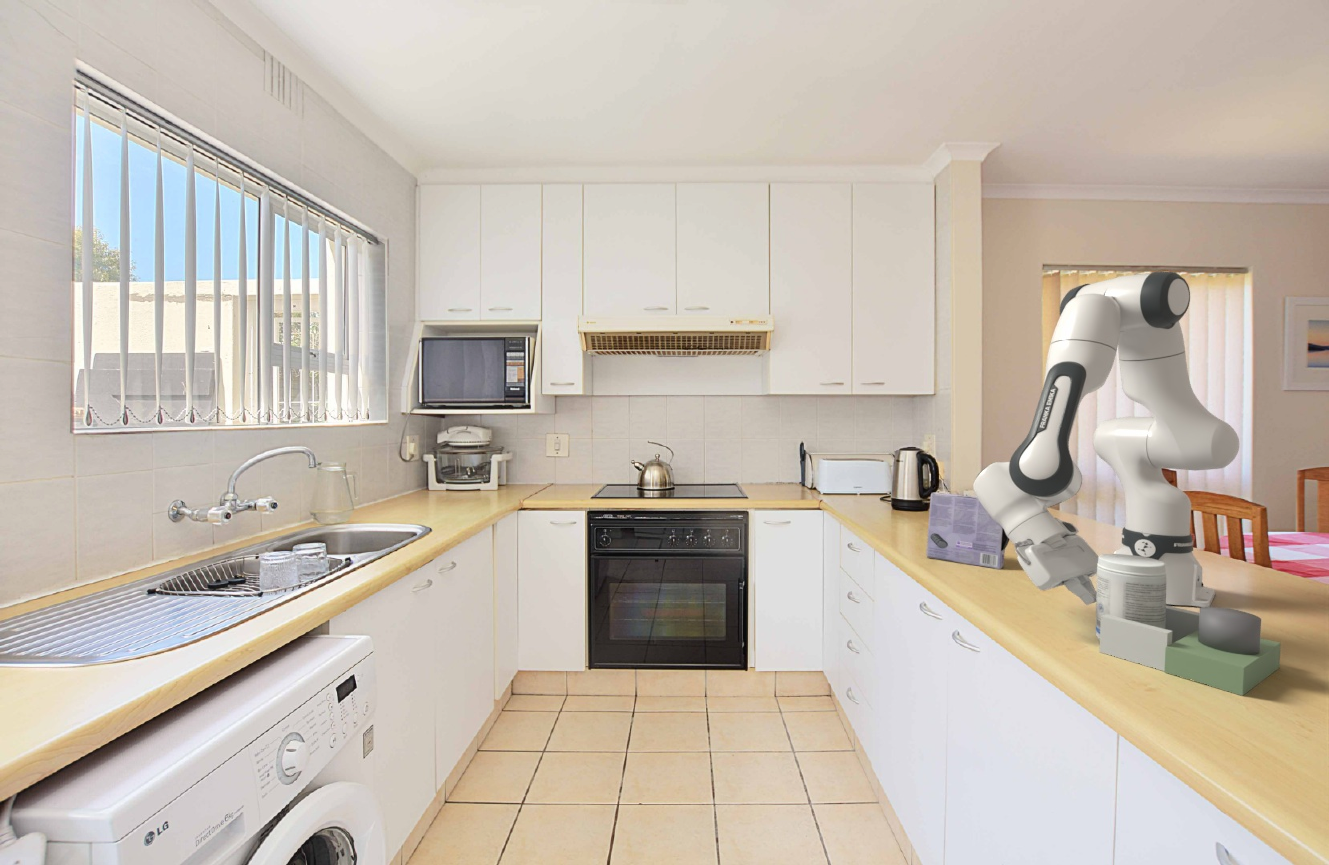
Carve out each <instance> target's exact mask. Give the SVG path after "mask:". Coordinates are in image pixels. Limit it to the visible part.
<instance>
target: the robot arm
mask: <svg viewBox="0 0 1329 865" xmlns="http://www.w3.org/2000/svg"><path fill="white" fill-rule="evenodd" d="M1190 302H1191V291H1190V287H1189V284H1188V282H1187V280H1186V279H1185V278H1184V277H1182V276H1181V275H1180V274H1179V273H1177V272H1173V271H1153V272H1151V273H1140V274H1139V273H1137V274H1128V275H1122V276H1121V275H1120V276H1117V277H1115V278H1109V279H1106V280H1101V281H1097V282H1094V283H1085V284H1082V285H1078V286H1076V287H1074V288H1072V289H1070V290H1069V291H1067V293H1066V294H1065V295H1064V297H1063V299H1062V300H1061V302H1060V305H1059V318H1058V320H1057V324H1056V326H1055V328H1054V331H1053V333H1052V337H1051V341H1050V344H1049V347H1048V352H1047V357H1046V361H1045V370H1044V371H1045V372H1044V380H1043V385H1042V386H1043V387H1042V390H1041V392H1040V393H1041V394H1040V397H1039V400H1038V403H1037V406H1036V410H1035V412H1034V415H1033V420H1032V422H1031V426H1030V429H1029V431H1028V433H1027V435H1026V437H1025V439H1024V440H1023V441H1022V442H1021V443H1020V444H1019V446H1018V447H1017V448H1016V450H1015V451H1014V452H1013V454H1012V456H1011V458H1010V460H1009V461H1004V462H1001V461H1000V462H999V461H995V462H992V463H991V464H988V465H987V466H985V467H984V468H983V469H982V470H981V471H980V472H979V473H978V474H977V476H976V477H975V479H974V481H973V486H972V487H973V488H972V489H973V491H974V494H975V497H977V498H978V500H979V501H980V503H981V504H982V506H983V507H984V508H985V510H986V511H987V512H988V514H989V515H990V516H991V517H992V519H993V520H995V521H996V522H997V523H999V524H1000V525H1001V526H1002V527H1003V529H1004V531H1005V533H1006V535H1007V537H1008V538H1009V541H1010V542H1011V543H1012V544H1013V546H1014V552H1015V553H1016V555H1017V561H1018V563H1019V565H1020V567H1021V568H1022V569H1023V571H1024V573H1025V574H1026V575H1027V577H1028V578H1029V579H1030V581H1031V582H1032V583H1033V585H1034V586H1035V587H1036V588H1038V589H1039V590H1040V591H1043V592H1044V591H1047V590H1052V589H1054V588H1057V587H1061V586H1065V588H1066V589H1067V590H1068V591H1069V592H1071V593H1072V594H1073V595H1075V596H1076V597H1078V598H1079V599H1080V600H1081V601H1082V602H1083V604H1085V605H1086V606H1088V605H1091V604H1094V603H1095V604H1096V594H1097V590H1096V588H1095V586H1094V584H1093V582H1092V580H1091V578H1092V577H1094V576H1095V575H1097V563H1098V557H1099V556H1100V555H1098V554H1097V553H1096V551H1095V550H1094V549H1093V547H1091V545H1090V544H1089V543H1088V542H1087V541H1086V539H1084V538H1083V537H1082V536H1080V535H1079V534H1078V533H1079V529H1078V528H1077V527H1076V526H1075V525H1074V524H1073V523H1071V522H1067V521H1064V520H1061V519H1059V518H1057V517H1054V515H1053V514H1052V513H1051V512H1050V511H1049V510H1048V509H1049V508H1052V507H1054V506H1056V505H1059V504H1061V503H1063V502H1066V501H1068V500H1070V499H1072V498H1073V497H1075V496H1076V495H1077V493H1079V491H1080V489H1081V487H1082V484H1083V475H1082V472H1081V470H1080V468H1079V466H1078V465H1077V464H1076V463H1075V461H1074V460H1073V458H1072V456H1071V452H1070V444H1069V443H1070V439H1071V434H1072V431H1073V428H1074V426H1075V420H1076V417H1077V414H1078V411H1079V407H1080V404H1081V402H1082V401H1083V399H1084V398H1085V397H1086V395H1088V394H1091V393H1093V392H1096V391H1097V390H1099V389H1101V388H1102V387H1103V386H1104V385H1105V384H1106V382H1107V379H1108V377H1109V375H1110V373H1111V371H1112V368H1113V365H1114V362H1115V359H1116V356H1117V350H1118V364H1119V370H1120V377H1121V378H1120V379H1121V387H1122V388H1121V389H1122V392H1123V393H1124V394H1125V396H1126V397H1127V398H1128V399H1130V400H1131V401H1133V402H1135V403H1138V404H1140V405H1141V406H1143V407H1145V408H1146V409H1147V410H1148V411H1149V412H1150V414H1152V416H1123V417H1116V418H1110V419H1106V420H1103V421H1102V422H1101V423H1099V425H1098V426H1097V427H1096V429H1095V430H1094V432H1093V434H1092V435H1093V436H1092V446H1093V449H1094V451H1095V453H1096V455H1097V456H1098V457H1099V458H1100V460H1101V459H1102V460H1103V461H1104V462H1105V463H1106V464H1107V465H1108V466H1110V468H1111V469H1112V470H1113V471H1114V473H1115V475H1116V476H1117V478H1118V479H1119V482H1120V483H1121V484H1120V485H1121V486H1122V490H1123V494H1124V507H1125V509H1124V510H1125V511H1124V513H1125V516H1124V517H1125V520H1124V527H1123V528H1122V530H1121V531H1122V533H1121V544H1122V546H1121V547H1120V548H1118V549H1117V550H1115V551H1114V553H1113V554H1125V555H1134V556H1141V557H1147V558H1152V559H1156V560H1159V561H1161V562H1163V563H1165V571H1166V576H1167V577H1166V605H1170V606H1171V605H1174V606H1190V607H1191V606H1193V607H1199V608H1201V607H1211V604H1212V603H1213V600H1214V598H1215V596H1216V590H1215V589H1213V588H1210V587H1208V586H1204V583H1203V566H1202V565H1201V564H1200V563H1199V561H1198V560H1197V558H1196V556H1195V555H1194V553H1193V551H1194V542H1195V540H1196V536H1195V533H1191V518H1192V517H1191V516H1192V514H1191V512H1192V502H1191V499H1190V497H1189V496H1188V494H1186V492H1185V491H1183V490H1182V489H1180V488H1178V487H1176V486H1174V485H1172V484H1171V483H1170V482H1168V480H1167V479H1166V477H1165V476H1164V474H1163V470H1162V469H1173V470H1174V469H1175V470H1185V471H1206V470H1208V471H1209V470H1218V469H1223V468H1226V467H1227V466H1230V464H1232V462H1233V461H1234V460H1235V459H1236V457H1237V455H1238V453H1239V450H1240V439H1239V435H1238V434H1237V432H1236V430H1235V429H1234V428H1233V427H1232V426H1231V425H1230V424H1229V423H1228V422H1226V421H1224V420H1222V419H1220V418H1218V417H1217V416H1216V415H1214V414H1213V413H1211V411H1209V410H1208V409H1207V408H1206V407H1205V406H1204V405H1203V403H1201V401H1200V400H1199V398H1197V396H1196V394H1195V392H1194V390H1193V388H1192V385H1191V381H1190V376H1189V371H1188V363H1187V358H1186V357H1187V356H1186V354H1187V353H1186V347H1185V340H1184V334H1183V331H1182V326H1181V324H1180V320H1181V319H1182V318H1183V317H1184V316H1185V314H1186V313H1187V311H1188V309H1189V306H1190ZM1214 595H1215V596H1214Z"/></svg>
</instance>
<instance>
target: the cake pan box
mask: <svg viewBox="0 0 1329 865" xmlns="http://www.w3.org/2000/svg"><path fill="white" fill-rule="evenodd" d="M928 514H929V517H928V526H927V527H928V528H927V543H926V553H925V554H926V557H927V558H929V559H936V560H941V561H948V562H952V563H959V564H963V565H964V564H965V565H970V566H971V565H973V566H978V567H984V568H989V569H995V570H1001V569H1003V567H1004V566H1005V554H1006V553H1005V552H1006V548H1007V546H1008V544H1009V543H1010V539H1009V538H1008V537H1007V535H1006V533H1005V531H1004V529H1003V527H1002V526H1001V525H1000V524H999V523H997V522H996V521H995V520H993V519H992V517H991V516H990V515H989V514H988V512H987V511H986V510H985V508H984V507H983V506H982V504H981V503H980V501H979V500H978V498H977V496H971V495H965V494H964V495H962V494H953V493H946V492H945V493H944V492H937V491H936V492H931V494H930V503H929V513H928Z"/></svg>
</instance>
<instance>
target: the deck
mask: <svg viewBox="0 0 1329 865" xmlns="http://www.w3.org/2000/svg"><path fill="white" fill-rule="evenodd" d="M1261 629H1262V618H1260V617H1259V616H1258V615H1255V614H1253V613H1250V612H1246V611H1243V610H1238V609H1233V608H1227V607H1221V606H1210V607H1199V611H1193V610H1188V609H1184V608H1180V607H1175V606H1171V605H1168V604H1166V622H1165V629H1163V628H1159V627H1155V626H1151V625H1147V624H1143V623H1139V622H1135V621H1131V620H1127V619H1123V618H1119V617H1115V616H1111V615H1107V614H1106V615H1103V616H1101V624H1100V640H1099V650H1098V651H1099V653H1101V654H1104V655H1109V656H1111V655H1112V657H1114V656H1115V658H1119V659H1121V660H1124V659H1126V660H1125V661H1128V662H1132V663H1135V664H1138V663H1140V664H1139V665H1141V664H1142V665H1141V666H1144V665H1145V666H1144V667H1149V668H1151V667H1153V668H1152V669H1155V668H1156V669H1155V670H1158V671H1162V672H1165V674H1168V673H1169V674H1168V675H1171V676H1174V675H1177V676H1176V677H1178V676H1181V677H1183V678H1182V679H1184V678H1186V679H1185V680H1188V679H1192V680H1194V681H1197V682H1196V683H1198V682H1200V683H1199V684H1201V683H1204V684H1207V685H1206V686H1208V685H1209V687H1211V686H1212V688H1215V687H1217V688H1216V689H1218V688H1220V689H1219V690H1221V689H1222V691H1226V692H1228V691H1229V692H1228V693H1231V692H1232V694H1235V695H1238V696H1241V697H1244V695H1245V694H1247V693H1248V692H1250V691H1252V689H1253V688H1255V687H1256V686H1257V685H1259V684H1260V683H1262V682H1263V681H1264V680H1266V679H1267V678H1268V677H1269V676H1271V675H1272V674H1273V673H1275V672H1276V671H1277V670H1278V669H1280V662H1281V660H1280V658H1281V645H1282V644H1281V642H1279V641H1275V640H1270V639H1266V638H1262V637H1261V632H1262V630H1261ZM1181 677H1180V678H1181ZM1194 681H1193V682H1194ZM1258 683H1259V684H1258ZM1204 684H1203V685H1204Z"/></svg>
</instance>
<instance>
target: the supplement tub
mask: <svg viewBox="0 0 1329 865" xmlns="http://www.w3.org/2000/svg"><path fill="white" fill-rule="evenodd" d="M1098 556H1099V557H1098V563H1097V574H1096V592H1097V594H1096V602H1095V606H1096V607H1095V608H1096V609H1095V618H1096V619H1095V635H1096V638H1097V639H1098V640H1099V641H1100V624H1101V616H1103V615H1106V614H1107V615H1111V616H1115V617H1119V618H1123V619H1127V620H1131V621H1135V622H1139V623H1143V624H1147V625H1151V626H1155V627H1159V628H1163V629H1165V622H1166V605H1167V604H1166V577H1167V576H1166V571H1165V563H1163V562H1161V561H1159V560H1156V559H1152V558H1147V557H1141V556H1134V555H1125V554H1114V553H1105V554H1104V553H1103V554H1099V555H1098Z"/></svg>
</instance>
